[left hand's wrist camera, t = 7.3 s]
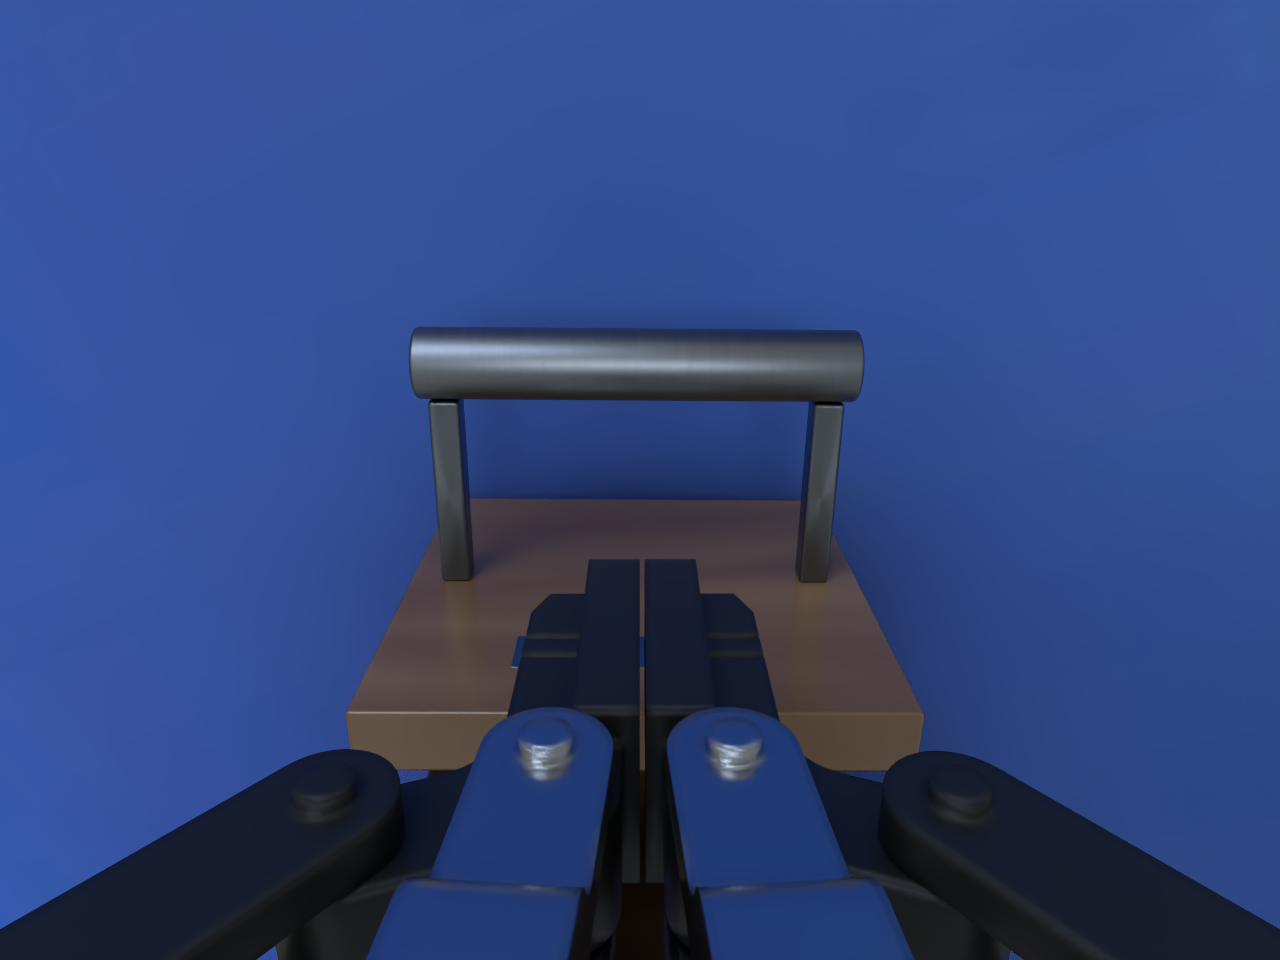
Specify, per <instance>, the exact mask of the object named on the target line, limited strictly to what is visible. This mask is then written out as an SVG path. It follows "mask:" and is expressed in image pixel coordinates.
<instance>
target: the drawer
mask: <svg viewBox="0 0 1280 960" xmlns="http://www.w3.org/2000/svg"><path fill="white" fill-rule="evenodd" d="M409 371H410V379H411V384H412V388H413V391H414V393H415V395H416V397H418V398H420V399H431V400H430V401H429V403H428V409H429V421H430V433H431V446H432V458H433V470H434V482H435V495H436V507H437V519H438V528H437V530H436V532H435V534H434V536H433V538H432V540H431V542H430V544H429V546H428V548H427V550H426V552H425V554H424V556H423V558H422V560H421V562H420V564H419V566H418V568H417V570H416V572H415V574H414V576H413V578H412V580H411V582H410V584H409V586H408V588H407V590H406V592H405V594H404V596H403V598H402V600H401V602H400V604H399V606H398V608H397V610H396V612H395V614H394V616H393V618H392V620H391V622H390V624H389V626H388V628H387V630H386V632H385V634H384V636H383V638H382V640H381V642H380V644H379V646H378V648H377V650H376V652H375V654H374V656H373V658H372V660H371V662H370V664H369V666H368V668H367V670H366V673H365V675H364V677H363V679H362V681H361V683H360V685H359V687H358V689H357V691H356V693H355V695H354V697H353V699H352V701H351V703H350V705H349V707H348V709H347V711H346V721H347V728H348V736H349V743H350V749H357V750H363V751H369V752H372V753H375V754H378V755H380V756H382V757H384V758H386V759H387V760H388V761H389V762H391V763H392V764H393V766H394V767H395V768H396V770H429V773H428V776H427V778H429V777H434V776H438V775H442V774H445V773H449V772H452V771H454V770H457V769H460V768H462V767H464V766H466V765H468V764H470V763H472V762H474V759H475V757H476V754H477V751H478V749H479V746H480V744H481V742H482V740H483V738H484V736H485V735H486V734H487V733H488V731H489V730H490V729H491V728H493V727H494V726H495V725H496V724H497V723H499V722H501V721H502V720H504V719H505V718H507V714H508V710H509V706H510V701H511V697H512V693H513V689H514V684H515V680H516V676H517V671H518V667H519V663H520V658H521V657H522V650H523V646H524V641H525V639H526V633H527V628H528V624H529V620H530V615H531V612H532V611H533V610H534V609H535V608H536V607H537V606H538V605H539V604H541V603H542V602H543V601H544V600H545V599H546V598H547V597H548V596H549V595H550V594H584V593H585V585H586V577H587V569H588V561H589V559H640V883H622V902H621V915H620V919H619V922H618V925H617V927H616V928H615V934H616V946H615V958H614V960H666V958H665V946H664V934H665V899H664V883H646V847H645V720H644V562H645V559H696V565H697V572H698V580H699V587H700V593H734V594H735V595H736V596H737V597H738V598H739V599H740V600H741V601H742V602H743V603H744V604H745V605H746V606H747V607H748V608H749V609H751V610H752V611H753V612H754V617H755V621H756V625H757V629H758V633H759V639H760V641H761V645H762V650H763V657H764V658H765V662H766V666H767V670H768V674H769V678H770V682H771V687H772V691H773V695H774V699H775V703H776V707H777V711H778V715H779V720H780V722H781V723H783V724H784V725H785V726H786V727H787V728H789V729H790V730H791V731H792V733H793V734H794V735H795V736H796V738H797V740H798V742H799V744H800V746H801V749H802V751H803V754H804V756H805V757H807V758H808V759H810V760H811V761H813V762H815V763H817V764H819V765H821V766H823V767H825V768H827V769H830V770H833V771H835V772H839V771H888V769H889V768H890V767H891V765H893V764H894V763H895V762H896V761H897V760H899V759H901V758H903V757H905V756H908V755H911V754H914V753H919V749H920V743H921V736H922V730H923V723H924V717H925V715H924V712H923V710H922V708H921V706H920V704H919V702H918V700H917V698H916V696H915V694H914V692H913V690H912V688H911V686H910V684H909V682H908V680H907V678H906V676H905V674H904V672H903V670H902V668H901V667H900V665H899V663H898V661H897V659H896V657H895V655H894V653H893V651H892V649H891V647H890V645H889V643H888V641H887V639H886V637H885V635H884V633H883V631H882V629H881V627H880V625H879V623H878V621H877V619H876V617H875V615H874V613H873V611H872V610H871V608H870V606H869V604H868V602H867V600H866V598H865V596H864V594H863V592H862V590H861V588H860V586H859V584H858V582H857V580H856V578H855V576H854V574H853V572H852V570H851V568H850V566H849V564H848V562H847V560H846V558H845V556H844V554H843V552H842V551H841V549H840V547H839V545H838V543H837V541H836V539H835V537H834V535H833V533H832V527H833V517H834V507H835V496H836V486H837V476H838V466H839V456H840V446H841V436H842V426H843V416H844V405H843V403H842V402H853V401H855V400H856V399H857V398H858V396H859V394H860V391H861V387H862V383H863V376H864V347H863V342H862V338H861V335H860V334H859V332H857V331H855V330H753V329H631V328H509V327H417V328H415V329H414V331H413V333H412V337H411V341H410V348H409ZM463 399H519V400H658V401H797V402H809V409H808V421H807V433H806V445H805V457H804V469H803V481H802V493H801V500H653V499H481V498H470V492H469V477H468V462H467V447H466V432H465V416H464V401H463Z"/></svg>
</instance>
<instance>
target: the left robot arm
mask: <svg viewBox="0 0 1280 960" xmlns="http://www.w3.org/2000/svg"><path fill="white" fill-rule="evenodd" d="M644 720H645V847H646V883H664V899H665V934H664V946H665V958H666V960H1008V959H1009V954H1010V950H1011V951H1013V952H1014V953H1016V954H1017V955H1018V956H1020V957H1021V958H1022V959H1024V960H1280V929H1278V928H1277V927H1275V926H1273V925H1271V924H1270V923H1268V922H1266V921H1264V920H1263V919H1261V918H1259V917H1257V916H1256V915H1254V914H1252V913H1250V912H1249V911H1247V910H1245V909H1243V908H1242V907H1240V906H1238V905H1236V904H1235V903H1233V902H1231V901H1229V900H1228V899H1226V898H1224V897H1222V896H1221V895H1219V894H1217V893H1215V892H1214V891H1212V890H1210V889H1208V888H1207V887H1205V886H1203V885H1201V884H1200V883H1198V882H1196V881H1194V880H1193V879H1191V878H1189V877H1187V876H1186V875H1184V874H1182V873H1180V872H1179V871H1177V870H1175V869H1173V868H1172V867H1170V866H1168V865H1166V864H1165V863H1163V862H1161V861H1159V860H1158V859H1156V858H1154V857H1152V856H1151V855H1149V854H1147V853H1145V852H1144V851H1142V850H1140V849H1138V848H1137V847H1135V846H1133V845H1131V844H1130V843H1128V842H1126V841H1124V840H1123V839H1121V838H1119V837H1117V836H1116V835H1114V834H1112V833H1110V832H1109V831H1107V830H1105V829H1103V828H1102V827H1100V826H1098V825H1096V824H1095V823H1093V822H1091V821H1089V820H1088V819H1086V818H1084V817H1082V816H1081V815H1079V814H1077V813H1075V812H1074V811H1072V810H1070V809H1068V808H1067V807H1065V806H1063V805H1062V804H1060V803H1058V802H1056V801H1055V800H1053V799H1051V798H1049V797H1048V796H1046V795H1044V794H1042V793H1041V792H1039V791H1037V790H1035V789H1034V788H1032V787H1030V786H1028V785H1027V784H1025V783H1023V782H1021V781H1020V780H1018V779H1016V778H1014V777H1013V776H1011V775H1009V774H1007V773H1006V772H1004V771H1002V770H1000V769H999V768H997V767H995V766H993V765H991V764H989V763H987V762H984V761H982V760H979V759H977V758H974V757H970V756H967V755H963V754H958V753H953V752H944V751H925V752H919V753H914V754H911V755H908V756H905V757H903V758H901V759H899V760H897V761H896V762H895V763H894V764H893V765H891V767H890V768H889V769H888V771H887V772H886V775H885V777H884V781H883V783H880V782H876V781H872V780H867V779H863V778H858V777H854V776H850V775H846V774H842V773H839V772H835V771H833V770H830V769H827V768H825V767H823V766H821V765H819V764H817V763H815V762H813V761H811V760H810V759H808V758H807V757H805V756H804V754H803V751H802V749H801V746H800V744H799V742H798V740H797V738H796V736H795V735H794V734H793V733H792V731H791V730H790V729H789V728H787V727H786V726H785V725H784V724H783V723H781V722H780V720H779V715H778V711H777V707H776V703H775V699H774V695H773V691H772V687H771V682H770V678H769V674H768V670H767V666H766V662H765V658H764V657H763V650H762V645H761V641H760V639H759V633H758V629H757V625H756V621H755V617H754V612H753V611H752V610H751V609H749V608H748V607H747V606H746V605H745V604H744V603H743V602H742V601H741V600H740V599H739V598H738V597H737V596H736V595H735V594H734V593H700V587H699V580H698V572H697V565H696V559H645V562H644ZM622 883H640V559H589V561H588V569H587V577H586V585H585V593H584V594H550V595H549V596H548V597H547V598H546V599H545V600H544V601H543V602H542V603H541V604H539V605H538V606H537V607H536V608H535V609H534V610H533V611H532V612H531V615H530V620H529V624H528V628H527V633H526V639H525V641H524V646H523V650H522V657H521V658H520V663H519V667H518V671H517V676H516V680H515V684H514V689H513V693H512V697H511V701H510V706H509V710H508V714H507V718H505V719H504V720H502V721H501V722H499V723H497V724H496V725H495V726H494V727H493V728H491V729H490V730H489V731H488V733H487V734H486V735H485V736H484V738H483V740H482V742H481V744H480V746H479V749H478V751H477V754H476V757H475V759H474V762H472V763H470V764H468V765H466V766H464V767H462V768H460V769H457V770H454V771H452V772H449V773H445V774H442V775H438V776H434V777H429V778H425V779H421V780H416V781H412V782H407V783H403V784H400V777H399V775H398V772H397V770H396V768H395V767H394V766H393V764H392V763H391V762H389V761H388V760H387V759H386V758H384V757H382V756H380V755H378V754H375V753H372V752H369V751H363V750H357V749H341V750H331V751H325V752H320V753H317V754H313V755H310V756H307V757H304V758H302V759H299V760H297V761H295V762H293V763H291V764H289V765H287V766H285V767H283V768H281V769H280V770H278V771H276V772H274V773H273V774H271V775H269V776H267V777H266V778H264V779H262V780H260V781H259V782H257V783H255V784H253V785H252V786H250V787H248V788H246V789H245V790H243V791H241V792H239V793H238V794H236V795H234V796H233V797H231V798H229V799H227V800H226V801H224V802H222V803H220V804H219V805H217V806H215V807H213V808H212V809H210V810H208V811H206V812H205V813H203V814H201V815H199V816H198V817H196V818H194V819H192V820H191V821H189V822H187V823H185V824H184V825H182V826H180V827H178V828H177V829H175V830H173V831H171V832H170V833H168V834H166V835H164V836H163V837H161V838H159V839H157V840H156V841H154V842H152V843H150V844H149V845H147V846H145V847H143V848H142V849H140V850H138V851H136V852H135V853H133V854H131V855H129V856H128V857H126V858H124V859H122V860H121V861H119V862H117V863H115V864H114V865H112V866H110V867H108V868H107V869H105V870H103V871H101V872H100V873H98V874H96V875H94V876H93V877H91V878H89V879H87V880H86V881H84V882H82V883H80V884H79V885H77V886H75V887H73V888H72V889H70V890H68V891H66V892H65V893H63V894H61V895H59V896H58V897H56V898H54V899H52V900H51V901H49V902H47V903H45V904H44V905H42V906H40V907H38V908H37V909H35V910H33V911H31V912H30V913H28V914H26V915H24V916H23V917H21V918H19V919H17V920H16V921H14V922H12V923H10V924H9V925H7V926H5V927H3V928H2V929H0V960H256V959H258V958H259V957H260V956H262V955H263V954H264V953H266V952H267V951H269V950H270V949H271V948H273V947H274V946H276V951H277V956H278V960H614V958H615V946H616V934H615V928H616V927H617V925H618V922H619V919H620V915H621V902H622Z"/></svg>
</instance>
